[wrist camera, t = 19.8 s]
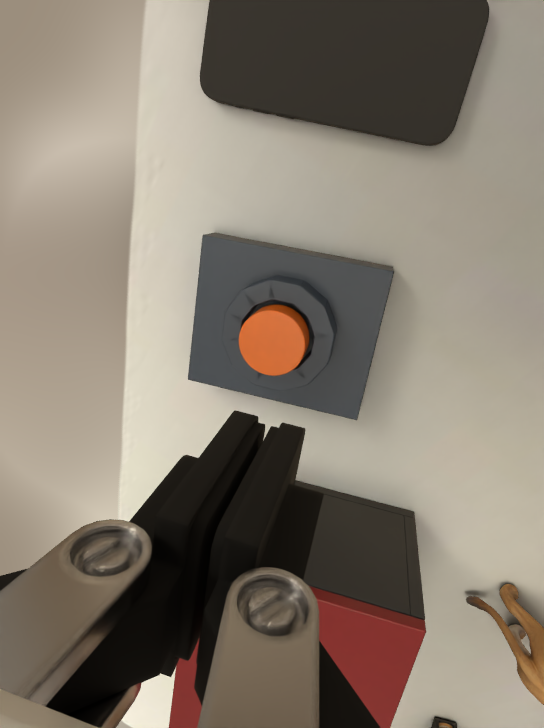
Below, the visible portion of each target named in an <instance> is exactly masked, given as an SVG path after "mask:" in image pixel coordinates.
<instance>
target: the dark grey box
mask: <svg viewBox="0 0 544 728" xmlns="http://www.w3.org/2000/svg"><path fill="white" fill-rule="evenodd" d="M294 485H297V486H300V487H304V488H308V489H311V490H315V491H318V492H322V493H324V496H323V500H322V504H321V508H320V513H319V517H318V521H317V526H316V530H315V534H314V538H313V543H312V547H311V551H310V555H309V559H308V564H307V568H306V572H305V576H304V580H303V581H304V582H305V583H306V584H307V585H308V586H311V587H314V588H317V589H321V590H324V591H327V592H331V593H334V594H338V595H341V596H344V597H348V598H351V599H354V600H358V601H361V602H364V603H368V604H371V605H375V606H378V607H381V608H385V609H388V610H391V611H395V612H398V613H401V614H405V615H408V616H412V617H415V618H418V619H422V620H425V614H424V604H423V594H422V584H421V574H420V565H419V555H418V545H417V535H416V525H415V516H414V512H412V511H408V510H405V509H401V508H397V507H393V506H389V505H386V504H382V503H378V502H374V501H371V500H367V499H363V498H359V497H355V496H352V495H348V494H344V493H340V492H337V491H333V490H329V489H325V488H321V487H318V486H314V485H310V484H306V483H303V482H299V481H295V484H294Z"/></svg>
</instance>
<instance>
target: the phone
mask: <svg viewBox="0 0 544 728" xmlns="http://www.w3.org/2000/svg"><path fill="white" fill-rule="evenodd" d="M488 18H489V6H488V2H487V0H210V2H209V9H208V17H207V24H206V32H205V39H204V47H203V55H202V63H201V71H200V83H201V87H202V90H203V91H204V93H205V94H206V95H207V96H208V97H209V98H211V99H213V100H214V101H216V102H219V103H223V104H228V105H232V106H236V107H239V108H247V109H252V110H253V111H257V112H262V113H267V114H276V115H277V116H281V117H286V118H291V119H294V118H295V119H300V120H305V121H309V122H314V123H319V124H324V125H329V126H334V127H338V128H343V129H348V130H353V131H358V132H363V133H367V134H372V135H377V136H382V137H387V138H391V139H396V140H401V141H406V142H411V143H416V144H421V145H429V146H430V145H437V144H439V143H441V142H443V141H444V140H445V139H447V138H448V137H449V135H450V134H451V133H452V131H453V129H454V127H455V124H456V121H457V118H458V115H459V112H460V109H461V106H462V103H463V100H464V96H465V93H466V90H467V87H468V84H469V81H470V77H471V74H472V71H473V68H474V65H475V61H476V58H477V55H478V52H479V49H480V45H481V42H482V39H483V36H484V32H485V29H486V26H487V22H488Z"/></svg>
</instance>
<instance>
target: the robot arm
mask: <svg viewBox="0 0 544 728" xmlns="http://www.w3.org/2000/svg"><path fill="white" fill-rule="evenodd" d="M264 432H265V424H261V423H258V416H255V415H251V414H247V413H243V412H239V411H234V412H233V413H232V414H231V416H230V417H229V418H228V420H227V421H226V422H225V424H224V425H223V426H222V428H221V429H220V430H219V432H218V433H217V434H216V436H215V437H214V438H213V440H212V441H211V442H210V444H209V445H208V446H207V448H206V449H205V450H204V452H203V453H202V454H201V456H200V457H199V458H196V457H192V456H189V455H184V456H183V457H182V458H181V459H180V460H179V461H178V462H177V464H176V465H175V466H174V467H173V469H172V470H171V471H170V472H169V474H168V475H167V476H166V477H165V478H164V480H163V481H162V482H161V483H160V485H159V486H158V487H157V488H156V489H155V491H154V492H153V493H152V494H151V496H150V497H149V498H148V499H147V501H146V502H145V503H144V504H143V505H142V507H141V508H140V509H139V510H138V512H137V513H136V514H135V515H134V516H133V518H132V519H131V520H130V521H129V522H127V521H124V520H103V521H96V522H93V523H91V524H88V525H85V526H83V527H81V528H80V529H78V530H76V531H75V532H73V533H72V534H71V535H69V536H68V537H67V538H66V539H64V540H63V541H62V542H61V543H59V544H58V545H57V546H56V547H54V548H53V549H52V550H51V551H49V552H48V553H47V554H46V555H44V556H43V557H42V558H41V559H39V560H38V561H37V562H36V563H35V564H33V565H32V566H31V567H30V568H28V569H25V570H21V571H17V572H13V573H10V574H6V575H2V576H0V728H116V727H117V725H118V724H119V722H120V721H121V719H122V718H123V717H124V715H125V714H126V712H127V711H128V709H129V708H130V706H131V705H132V704H133V702H134V701H135V699H136V697H137V695H138V693H139V691H140V688H141V682H144V681H146V680H148V679H151V678H153V677H155V676H158V675H159V674H160V673H161V674H164V675H167V676H169V677H171V676H172V674H173V672H174V669H175V667H176V665H177V663H178V661H179V659H180V658H181V659H183V660H186V661H188V660H189V659H190V658H191V656H192V654H193V651H194V649H195V647H196V645H197V642H198V640H199V644H198V652H197V659H196V664H197V669H196V676H195V683H194V689H195V691H196V694H197V696H198V698H199V701H200V703H201V706H202V709H201V713H200V718H199V722H198V727H197V728H381V727H380V726H379V725H378V723H377V722H376V720H375V719H374V718H373V716H372V715H371V713H370V712H369V710H368V709H367V708H366V706H365V705H364V703H363V702H362V700H361V699H360V698H359V696H358V695H357V693H356V692H355V690H354V689H353V688H352V686H351V685H350V683H349V682H348V680H347V679H346V678H345V676H344V675H343V673H342V672H341V671H340V669H339V668H338V666H337V665H336V663H335V662H334V661H333V659H332V658H331V656H330V655H329V653H328V652H327V651H326V649H325V648H324V646H323V645H322V643H321V642H320V641H319V609H318V603H317V599H316V597H315V595H314V594H313V592H312V590H311V588H310V587H309V586H308V585H307V584H306V583H305V582H304V581H303V580H304V576H305V572H306V568H307V564H308V559H309V555H310V551H311V547H312V543H313V538H314V534H315V530H316V526H317V521H318V517H319V513H320V508H321V504H322V500H323V496H324V493H322V492H318V491H315V490H311V489H308V488H304V487H300V486H297V485H294V484H295V479H296V474H297V469H298V464H299V459H300V455H301V450H302V445H303V440H304V435H305V428H302V427H298V426H294V425H290V424H286V423H281V425H280V427H279V428H277V427H273V426H271V428H270V430H269V432H268V433H267V435H266V437H265V439H264V441H263V438H264Z"/></svg>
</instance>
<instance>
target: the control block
mask: <svg viewBox="0 0 544 728" xmlns="http://www.w3.org/2000/svg"><path fill="white" fill-rule="evenodd" d="M393 274H394V270H393V267H392V266H387V265H382V264H376V263H371V262H366V261H361V260H355V259H350V258H345V257H339V256H334V255H329V254H324V253H318V252H313V251H308V250H303V249H297V248H292V247H287V246H282V245H276V244H271V243H266V242H261V241H255V240H250V239H245V238H239V237H234V236H229V235H224V234H218V233H211V234H206V235H203V238H202V248H201V258H200V267H199V277H198V287H197V296H196V306H195V316H194V325H193V335H192V345H191V355H190V364H189V374H188V380H192V381H196V382H200V383H205V384H209V385H213V386H217V387H221V388H225V389H230V390H234V391H238V392H242V393H246V394H250V395H254V396H259V397H263V398H267V399H271V400H275V401H279V402H284V403H288V404H292V405H296V406H300V407H304V408H309V409H313V410H317V411H321V412H325V413H329V414H333V415H338V416H342V417H346V418H350V419H354V420H357V418H358V414H359V410H360V406H361V402H362V398H363V394H364V390H365V386H366V382H367V378H368V374H369V370H370V366H371V362H372V358H373V354H374V350H375V346H376V342H377V338H378V334H379V330H380V326H381V322H382V318H383V314H384V310H385V306H386V302H387V298H388V294H389V290H390V286H391V282H392V278H393ZM273 304H279V305H284V306H287V307H290V308H292V309H294V310H295V311H296V312H298V313H299V314H300V315H301V316H302V318H303V319H304V321H305V322H306V324H307V327H308V330H309V345H308V348H307V350H306V352H305V354H304V356H303V358H302V360H301V362H300V363H299V364H298V366H297V367H296V368H295V369H293V370H292V371H290V372H288V373H286V374H283V375H277V376H271V375H265V374H262V373H260V372H258V371H256V370H254V369H253V368H252V367H251V366H249V365H248V363H247V362H246V361H245V359H244V358H243V356H242V354H241V351H240V347H239V334H240V331H241V328H242V326H243V324H244V323H245V321H246V320H247V319H248V318H249V317H250V316H252V315H253V314H254V313H255V312H256V311H258V310H259V309H261V308H262V307H265V306H268V305H273Z"/></svg>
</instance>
